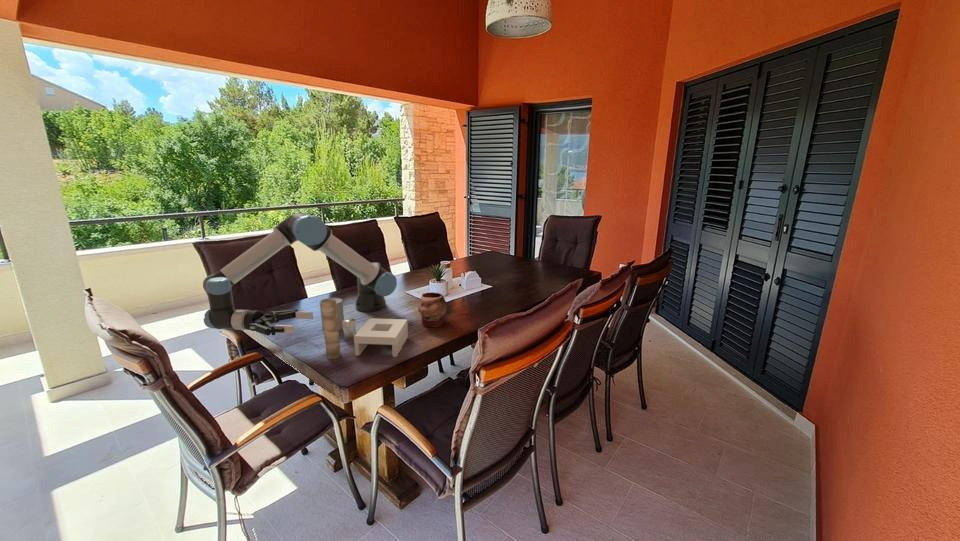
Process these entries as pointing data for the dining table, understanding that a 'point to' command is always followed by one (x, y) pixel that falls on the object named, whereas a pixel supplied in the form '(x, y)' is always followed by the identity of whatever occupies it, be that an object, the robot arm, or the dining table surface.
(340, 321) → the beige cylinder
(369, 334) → the miniature square stool
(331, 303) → the long pin
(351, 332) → the glass salt shaker
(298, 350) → the dining table surface
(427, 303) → the decorative planter
